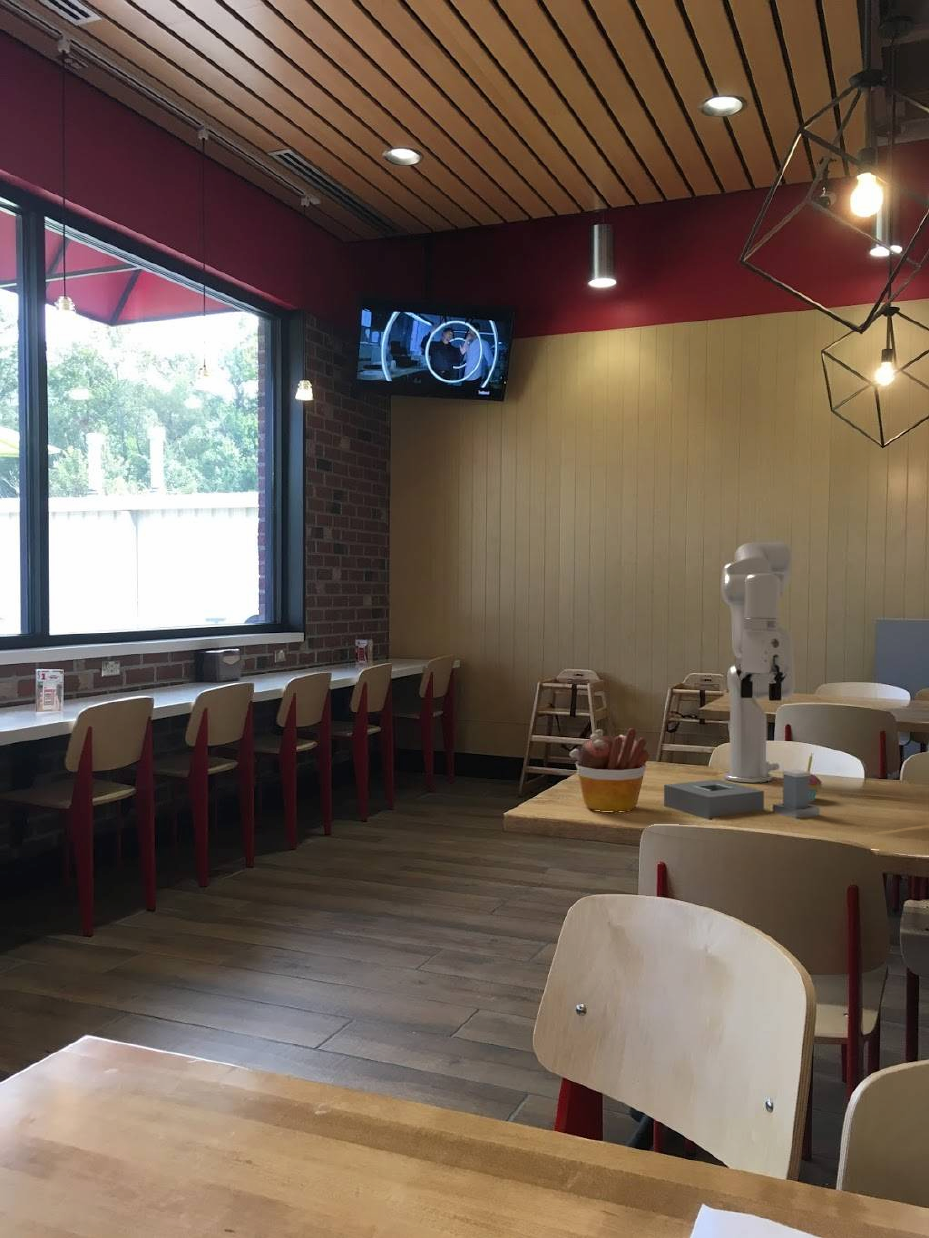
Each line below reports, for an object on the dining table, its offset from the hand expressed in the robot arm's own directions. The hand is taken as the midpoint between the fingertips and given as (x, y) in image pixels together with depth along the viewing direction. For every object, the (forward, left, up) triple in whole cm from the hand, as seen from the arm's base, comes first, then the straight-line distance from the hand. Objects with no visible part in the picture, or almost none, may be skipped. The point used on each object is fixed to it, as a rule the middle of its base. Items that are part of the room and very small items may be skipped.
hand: (760, 699), depth 234 cm
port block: (+11, -3, -26) cm, 28 cm away
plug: (-1, +11, -25) cm, 27 cm away
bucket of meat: (+32, -14, -26) cm, 44 cm away
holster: (-1, +11, -26) cm, 28 cm away
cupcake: (-14, 0, -26) cm, 29 cm away
